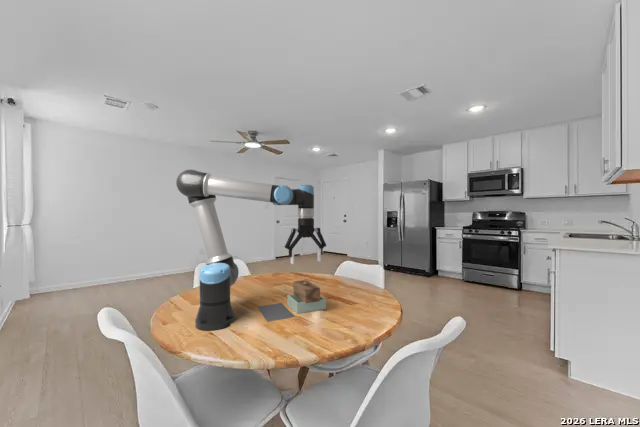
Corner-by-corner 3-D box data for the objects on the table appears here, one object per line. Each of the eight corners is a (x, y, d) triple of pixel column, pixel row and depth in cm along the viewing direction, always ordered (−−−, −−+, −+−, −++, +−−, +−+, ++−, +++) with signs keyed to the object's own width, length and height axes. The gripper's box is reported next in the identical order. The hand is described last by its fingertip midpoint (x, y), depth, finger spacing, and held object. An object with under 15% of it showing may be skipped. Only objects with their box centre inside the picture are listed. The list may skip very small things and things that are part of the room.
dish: (297, 315, 119) (297, 303, 119) (287, 305, 132) (287, 295, 132) (326, 310, 125) (326, 299, 125) (313, 301, 138) (313, 291, 138)
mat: (267, 323, 111) (267, 321, 111) (256, 307, 129) (256, 306, 129) (295, 318, 116) (295, 316, 116) (281, 304, 134) (281, 302, 134)
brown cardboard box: (305, 303, 120) (305, 287, 120) (293, 293, 134) (293, 279, 134) (320, 301, 123) (319, 285, 123) (306, 291, 137) (306, 277, 137)
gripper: (282, 218, 120) (282, 266, 120) (333, 217, 131) (333, 262, 131) (278, 217, 127) (278, 263, 127) (326, 217, 137) (326, 259, 137)
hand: (306, 262), depth 129 cm, fingers open, 13 cm apart
